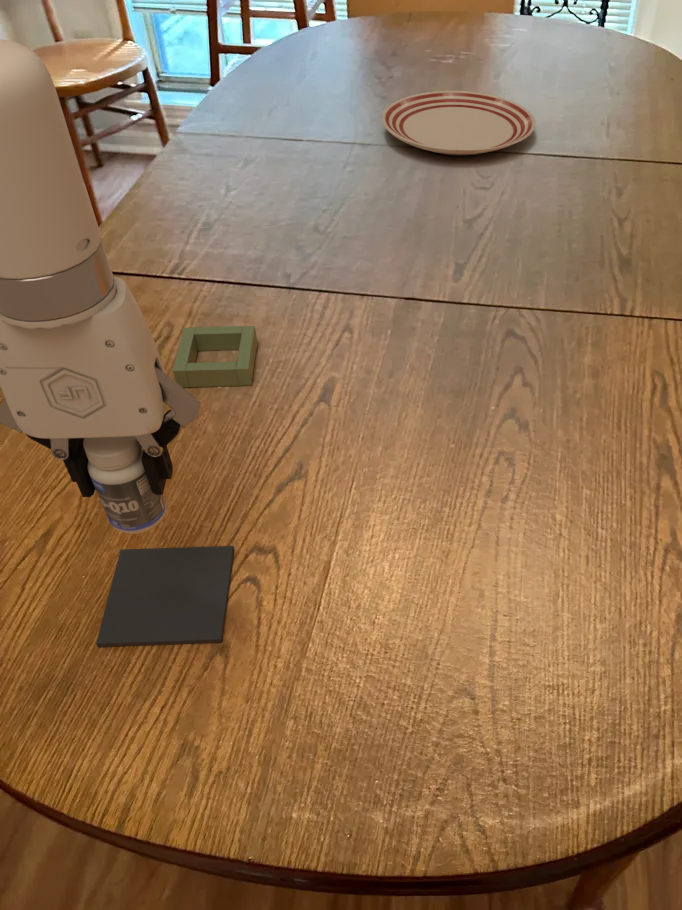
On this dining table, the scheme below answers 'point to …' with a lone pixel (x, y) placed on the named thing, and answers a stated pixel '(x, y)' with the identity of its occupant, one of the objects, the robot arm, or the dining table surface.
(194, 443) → the dining table surface
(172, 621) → the mat
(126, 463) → the pill bottle
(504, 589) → the dining table surface
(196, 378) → the stand
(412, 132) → the dinner plate
